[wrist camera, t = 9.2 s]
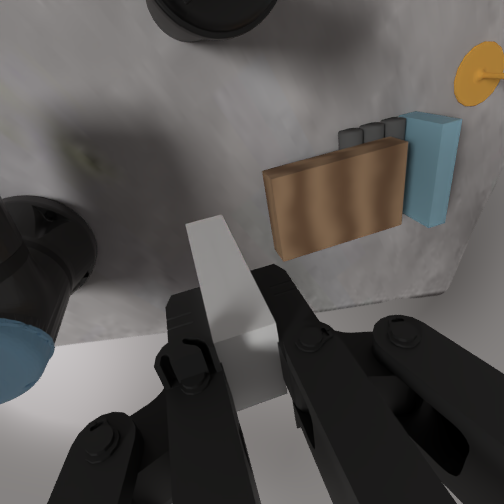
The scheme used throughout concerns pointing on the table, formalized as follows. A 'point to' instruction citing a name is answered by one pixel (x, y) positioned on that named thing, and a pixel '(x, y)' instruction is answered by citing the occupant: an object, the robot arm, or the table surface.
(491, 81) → the cup
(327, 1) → the table surface
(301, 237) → the slab
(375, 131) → the roller mid
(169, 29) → the water bottle
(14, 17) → the table surface
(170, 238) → the table surface
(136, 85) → the table surface
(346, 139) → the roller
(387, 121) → the cylinder
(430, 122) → the block
